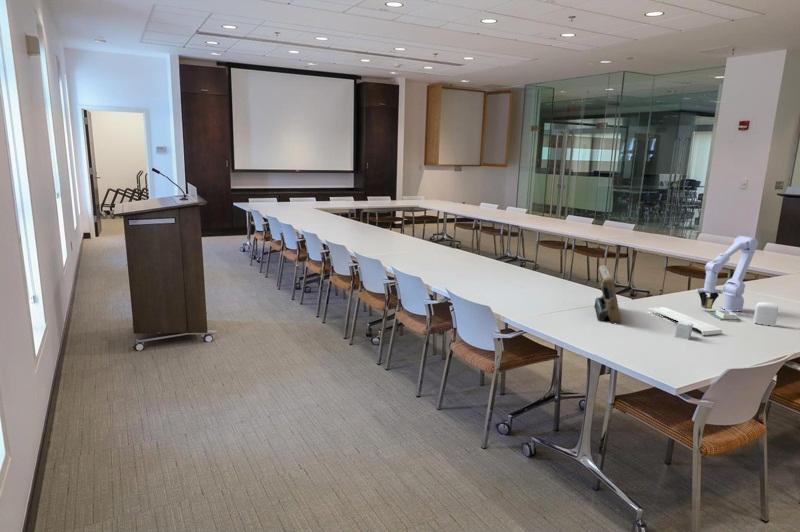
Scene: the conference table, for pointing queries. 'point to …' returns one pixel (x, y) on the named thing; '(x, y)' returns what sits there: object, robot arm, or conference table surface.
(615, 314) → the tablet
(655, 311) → the white keyboard
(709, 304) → the plug
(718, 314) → the board
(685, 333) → the skincare box
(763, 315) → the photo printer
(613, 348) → the conference table surface
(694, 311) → the conference table surface
